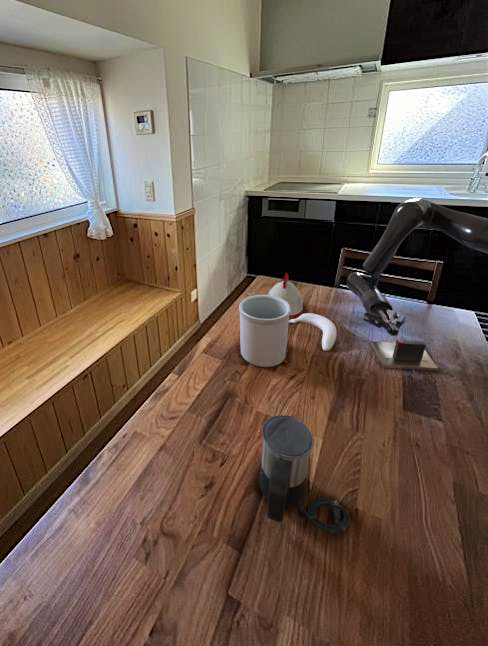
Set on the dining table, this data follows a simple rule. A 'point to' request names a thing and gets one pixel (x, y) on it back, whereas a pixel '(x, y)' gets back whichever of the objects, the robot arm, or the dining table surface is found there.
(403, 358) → the dark grey rectangular block
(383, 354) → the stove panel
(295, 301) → the kitchen timer
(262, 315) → the utensil holder
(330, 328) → the banana
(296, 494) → the milk frother
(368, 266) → the robot arm
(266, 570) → the dining table surface
